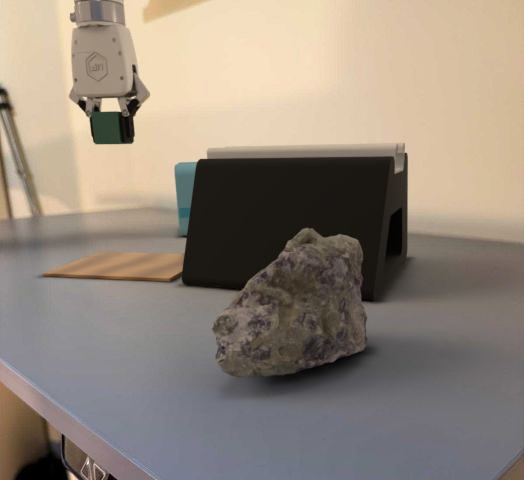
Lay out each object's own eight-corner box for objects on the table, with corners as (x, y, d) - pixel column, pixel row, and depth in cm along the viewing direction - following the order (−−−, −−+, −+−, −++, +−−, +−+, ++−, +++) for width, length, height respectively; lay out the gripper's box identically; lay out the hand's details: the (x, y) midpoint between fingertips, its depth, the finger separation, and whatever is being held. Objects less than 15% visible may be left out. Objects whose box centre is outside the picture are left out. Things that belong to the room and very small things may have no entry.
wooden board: (43, 276, 70) (42, 273, 70) (100, 254, 83) (100, 251, 83) (169, 281, 66) (169, 278, 66) (210, 257, 78) (210, 254, 78)
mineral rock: (218, 399, 36) (208, 249, 32) (203, 343, 46) (194, 223, 42) (400, 379, 38) (410, 235, 34) (348, 329, 48) (352, 214, 44)
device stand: (256, 249, 83) (253, 144, 77) (406, 257, 74) (415, 140, 69) (182, 286, 63) (170, 150, 58) (373, 302, 55) (381, 146, 50)
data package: (205, 236, 94) (200, 164, 90) (179, 237, 94) (173, 165, 90) (207, 226, 105) (203, 161, 101) (184, 227, 105) (178, 162, 101)
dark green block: (94, 144, 90) (91, 111, 89) (108, 144, 95) (105, 113, 93) (119, 144, 89) (116, 111, 87) (132, 143, 93) (129, 112, 92)
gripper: (39, 18, 84) (57, 143, 91) (138, 10, 80) (149, 142, 86) (68, 26, 91) (82, 142, 97) (160, 20, 86) (168, 142, 93)
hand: (113, 141), depth 92 cm, fingers closed on dark green block, 4 cm apart
